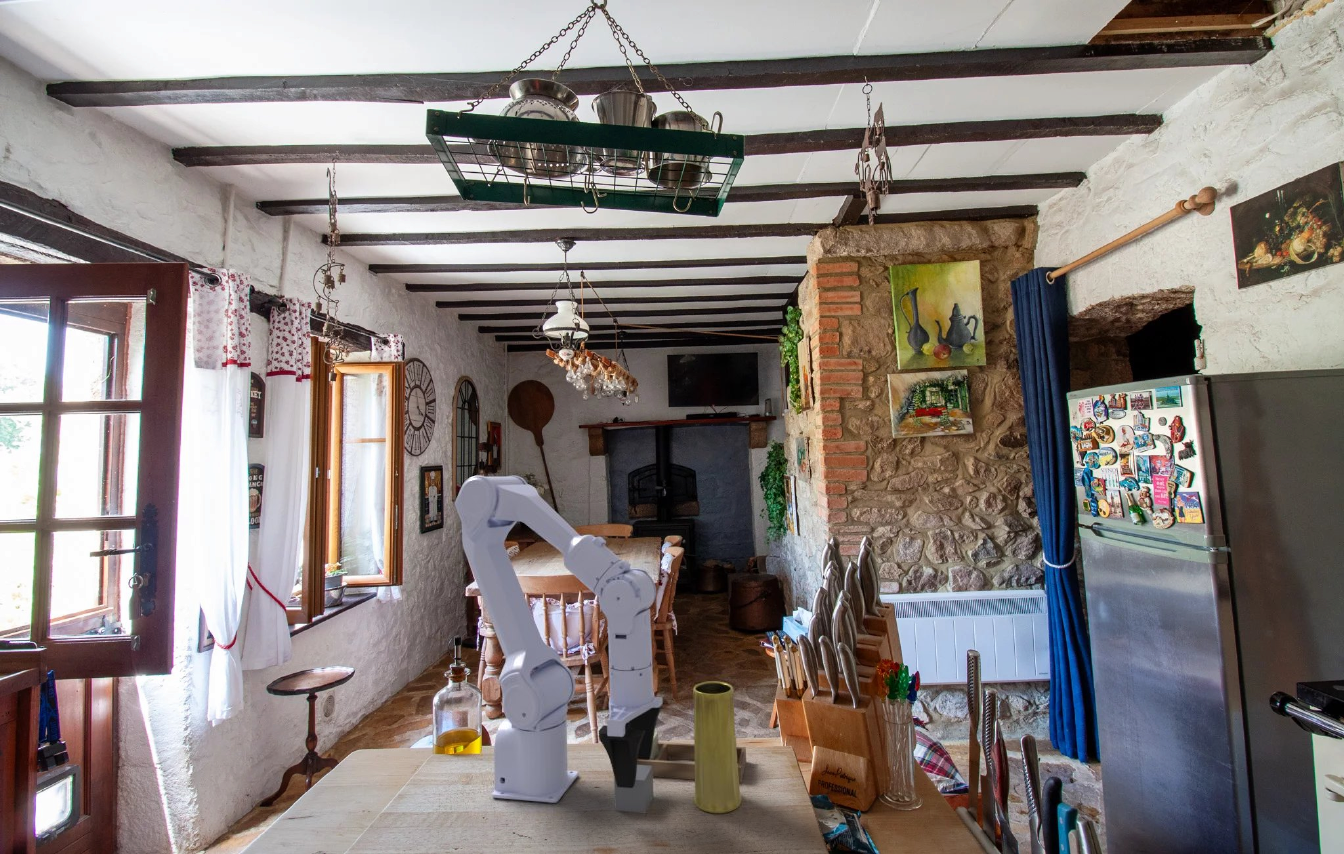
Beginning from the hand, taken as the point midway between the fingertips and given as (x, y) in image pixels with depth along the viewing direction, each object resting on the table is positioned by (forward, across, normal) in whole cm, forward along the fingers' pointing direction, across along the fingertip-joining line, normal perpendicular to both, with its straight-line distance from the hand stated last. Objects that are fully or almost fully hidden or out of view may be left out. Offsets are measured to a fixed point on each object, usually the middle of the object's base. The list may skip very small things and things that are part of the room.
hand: (634, 771), depth 79 cm
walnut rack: (+4, +10, -4) cm, 12 cm away
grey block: (+4, 0, 0) cm, 4 cm away
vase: (+4, +2, -10) cm, 11 cm away
